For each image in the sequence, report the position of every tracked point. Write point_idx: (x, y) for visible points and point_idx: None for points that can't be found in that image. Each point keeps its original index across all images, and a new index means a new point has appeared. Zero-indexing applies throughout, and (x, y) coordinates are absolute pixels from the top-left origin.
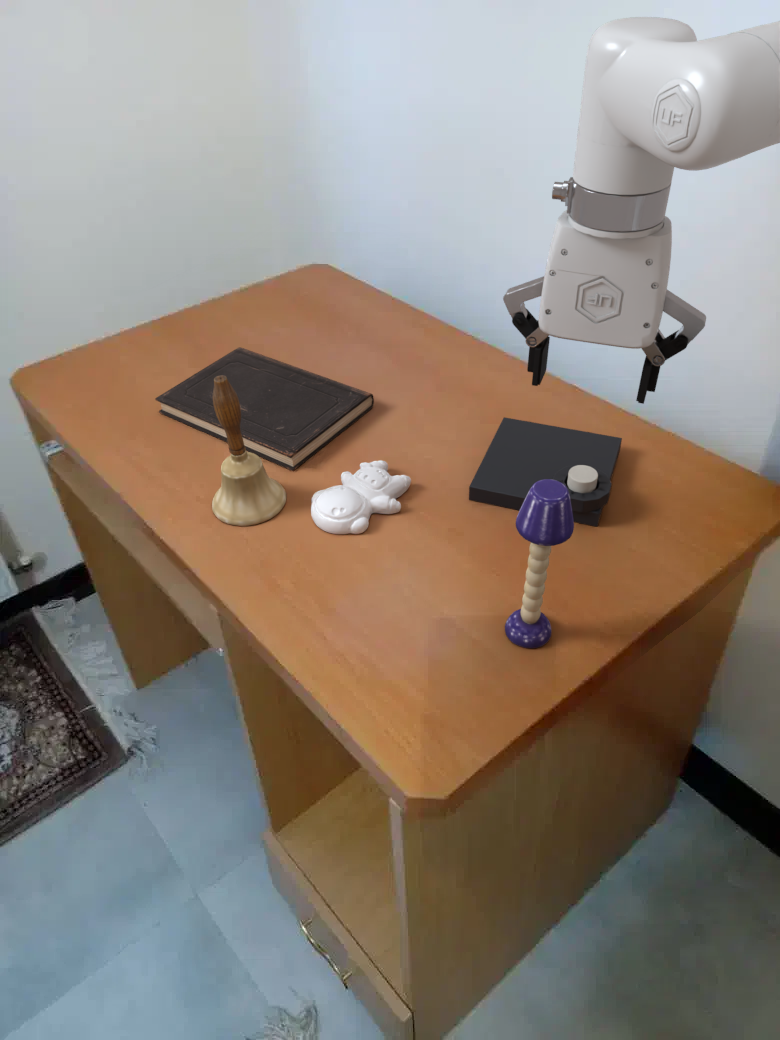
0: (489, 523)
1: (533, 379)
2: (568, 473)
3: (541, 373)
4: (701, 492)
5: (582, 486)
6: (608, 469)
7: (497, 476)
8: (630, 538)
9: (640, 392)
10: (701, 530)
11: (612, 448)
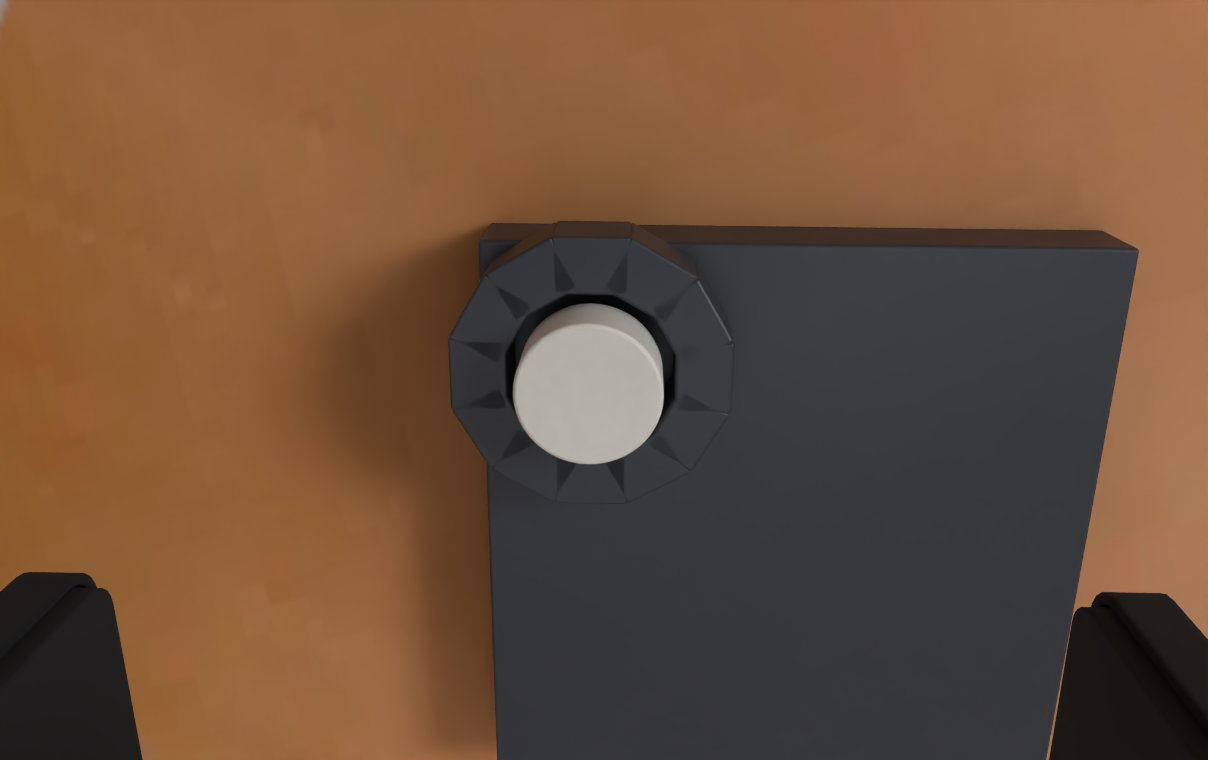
0: (976, 94)
1: (1183, 626)
2: (662, 380)
3: (1119, 717)
4: (142, 563)
5: (575, 318)
6: (507, 554)
7: (1006, 366)
8: (339, 195)
9: (9, 633)
10: (82, 336)
11: (521, 694)
